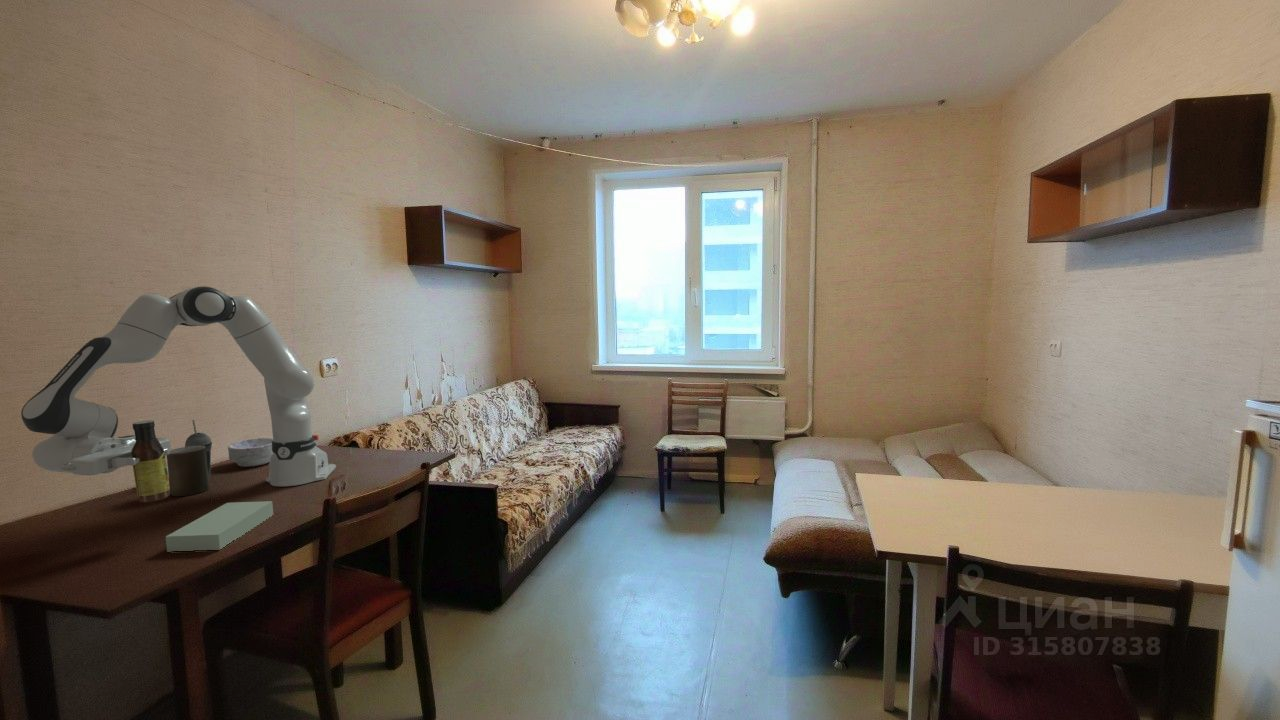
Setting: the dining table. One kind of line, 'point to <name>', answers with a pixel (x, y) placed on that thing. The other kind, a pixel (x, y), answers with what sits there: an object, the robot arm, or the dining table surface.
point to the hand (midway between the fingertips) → (152, 456)
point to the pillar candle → (188, 470)
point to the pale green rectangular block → (219, 526)
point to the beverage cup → (201, 444)
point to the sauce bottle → (149, 464)
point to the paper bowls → (251, 452)
